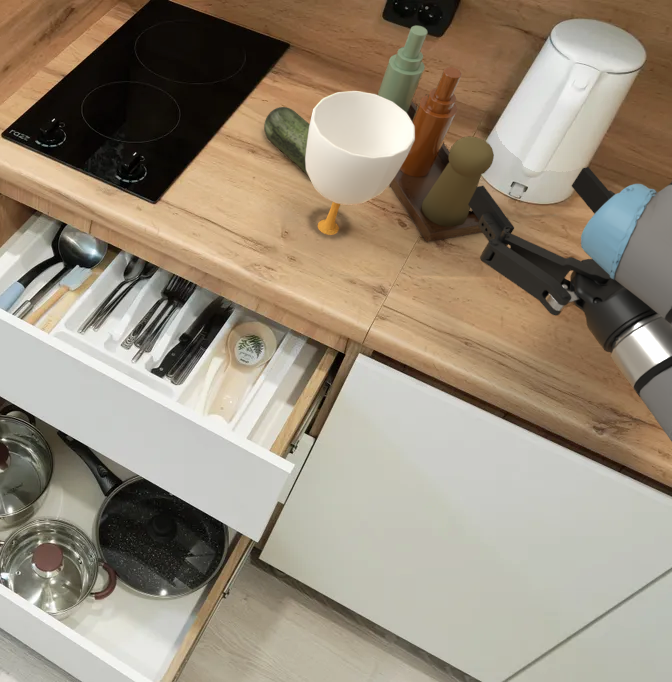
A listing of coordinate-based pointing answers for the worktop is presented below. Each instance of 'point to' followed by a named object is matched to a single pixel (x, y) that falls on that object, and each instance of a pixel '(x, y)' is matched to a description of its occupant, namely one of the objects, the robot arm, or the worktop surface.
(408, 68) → the sage bottle
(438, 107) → the amber bottle
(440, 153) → the tray
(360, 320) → the worktop surface
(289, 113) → the vegetable
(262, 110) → the worktop surface
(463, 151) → the olive pepper shaker
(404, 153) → the cup
